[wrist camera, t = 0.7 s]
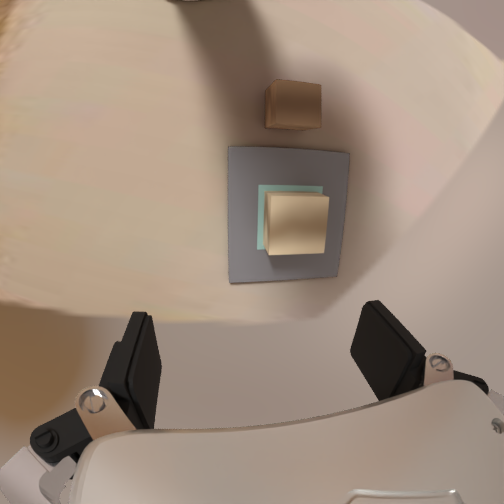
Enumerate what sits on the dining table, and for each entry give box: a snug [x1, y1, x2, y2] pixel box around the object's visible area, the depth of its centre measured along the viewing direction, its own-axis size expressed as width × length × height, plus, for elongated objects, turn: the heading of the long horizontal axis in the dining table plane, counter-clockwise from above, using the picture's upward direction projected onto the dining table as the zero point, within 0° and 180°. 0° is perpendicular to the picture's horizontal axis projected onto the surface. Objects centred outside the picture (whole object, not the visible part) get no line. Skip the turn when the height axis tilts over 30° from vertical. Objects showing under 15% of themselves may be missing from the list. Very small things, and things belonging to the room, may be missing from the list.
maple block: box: [263, 191, 329, 255], centre depth 33 cm, size 7×7×4 cm
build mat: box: [228, 147, 350, 283], centre depth 36 cm, size 18×16×1 cm
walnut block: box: [265, 79, 321, 130], centre depth 28 cm, size 5×5×6 cm
